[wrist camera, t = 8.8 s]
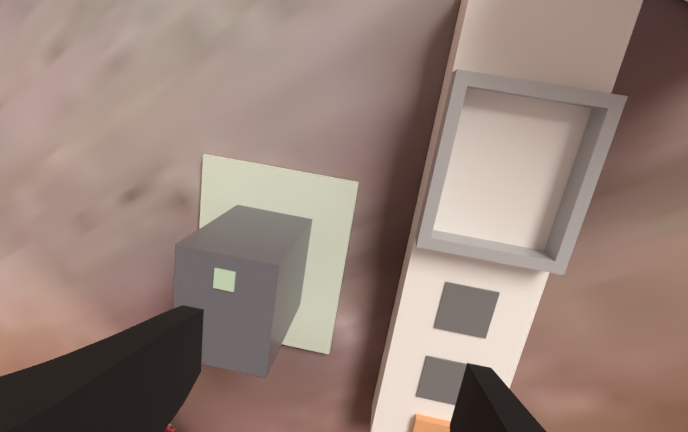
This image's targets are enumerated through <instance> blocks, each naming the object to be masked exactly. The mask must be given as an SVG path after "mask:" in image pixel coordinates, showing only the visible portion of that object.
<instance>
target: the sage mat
mask: <svg viewBox="0 0 688 432" xmlns="http://www.w3.org/2000/svg"><path fill="white" fill-rule="evenodd" d="M358 186H359V182H357V181H352V180H346V179H341V178H335V177H330V176H324V175H319V174H313V173H308V172H302V171H297V170H291V169H286V168H280V167H275V166H269V165H264V164H258V163H253V162H247V161H242V160H236V159H231V158H225V157H220V156H214V155H209V154H205V155H203V165H202V185H201V205H200V224H199V229H200V228H202V227H203V226H205V225H207V224H208V223H210V222H211V221H213V220H214V219H216V218H217V217H219V216H221V215H222V214H224V213H225V212H227V211H228V210H230V209H231V208H233V207H235V206H236V205H242V206H247V207H252V208H257V209H263V210H268V211H273V212H278V213H283V214H288V215H294V216H299V217H304V218H309V219H312V226H311V233H310V240H309V247H308V254H307V261H306V268H305V275H304V282H303V289H302V296H301V303H300V306H299V308H298V311H297V313H296V315H295V317H294V319H293V321H292V323H291V325H290V328H289V330H288V332H287V334H286V336H285V338H284V340H283V343H282V344H283V345H287V346H292V347H297V348H301V349H306V350H311V351H315V352H320V353H324V354H329V352H330V348H331V342H332V336H333V330H334V324H335V319H336V313H337V307H338V301H339V296H340V290H341V284H342V278H343V272H344V267H345V261H346V255H347V249H348V243H349V238H350V232H351V226H352V220H353V215H354V209H355V203H356V197H357V191H358Z"/></svg>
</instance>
